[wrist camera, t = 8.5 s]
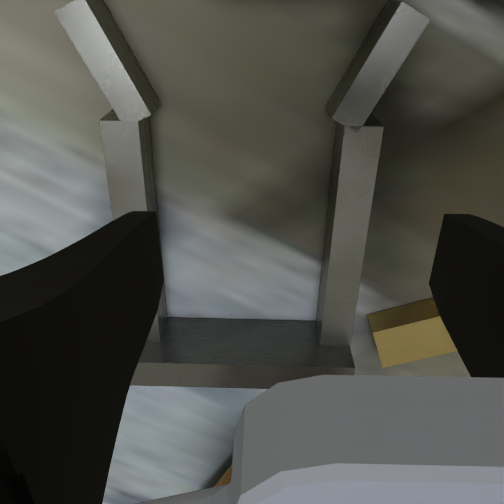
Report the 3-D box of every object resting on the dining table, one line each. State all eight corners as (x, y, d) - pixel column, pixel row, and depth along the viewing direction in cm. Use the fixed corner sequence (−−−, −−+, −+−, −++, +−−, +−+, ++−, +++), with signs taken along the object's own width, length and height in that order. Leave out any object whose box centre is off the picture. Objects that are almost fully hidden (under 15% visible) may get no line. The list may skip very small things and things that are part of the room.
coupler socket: (416, 0, 18) (448, 3, 15) (359, 343, 26) (372, 391, 23) (71, -7, 18) (32, -5, 15) (123, 338, 26) (105, 384, 23)
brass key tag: (481, 285, 24) (493, 302, 23) (486, 323, 25) (498, 342, 24) (367, 313, 25) (372, 331, 24) (376, 349, 26) (382, 368, 25)
